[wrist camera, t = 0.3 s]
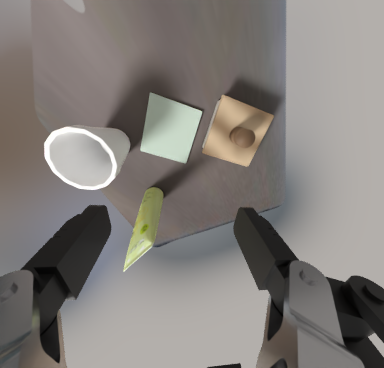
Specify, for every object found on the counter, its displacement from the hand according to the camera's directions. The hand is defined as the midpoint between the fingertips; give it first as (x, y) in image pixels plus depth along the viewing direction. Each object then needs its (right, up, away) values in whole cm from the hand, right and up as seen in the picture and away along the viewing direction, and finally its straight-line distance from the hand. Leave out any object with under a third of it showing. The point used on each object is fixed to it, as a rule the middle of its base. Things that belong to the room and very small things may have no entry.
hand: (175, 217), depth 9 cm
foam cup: (-16, +11, +24) cm, 31 cm away
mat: (-4, +14, +23) cm, 27 cm away
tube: (-9, -1, +31) cm, 32 cm away
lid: (+10, +12, +21) cm, 26 cm away
